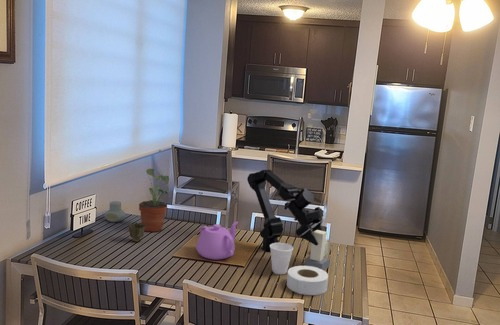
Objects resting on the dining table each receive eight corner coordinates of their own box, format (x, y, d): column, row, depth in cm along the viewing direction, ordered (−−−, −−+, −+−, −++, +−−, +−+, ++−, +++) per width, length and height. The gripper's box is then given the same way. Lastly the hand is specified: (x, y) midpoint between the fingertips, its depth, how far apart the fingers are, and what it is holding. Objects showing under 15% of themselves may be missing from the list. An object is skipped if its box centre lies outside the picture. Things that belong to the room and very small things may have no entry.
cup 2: (275, 278, 178) (277, 251, 176) (263, 268, 187) (265, 243, 185) (296, 274, 183) (298, 249, 181) (283, 265, 191) (285, 241, 189)
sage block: (321, 257, 205) (323, 244, 204) (312, 253, 208) (313, 241, 208) (327, 254, 209) (328, 242, 208) (318, 251, 212) (319, 239, 211)
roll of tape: (281, 290, 168) (282, 276, 167) (292, 275, 183) (293, 262, 182) (322, 299, 163) (324, 285, 162) (330, 283, 177) (331, 269, 177)
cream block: (309, 259, 191) (313, 231, 189) (313, 256, 195) (317, 229, 194) (319, 261, 189) (323, 234, 187) (323, 258, 193) (326, 231, 192)
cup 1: (125, 242, 206) (125, 225, 205) (134, 237, 213) (135, 221, 212) (138, 245, 204) (138, 228, 202) (147, 240, 211) (148, 224, 209)
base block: (304, 267, 192) (305, 259, 191) (312, 262, 198) (313, 254, 198) (321, 272, 187) (322, 263, 187) (329, 267, 194) (329, 258, 193)
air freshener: (101, 221, 234) (102, 203, 233) (109, 217, 242) (109, 199, 241) (121, 224, 233) (121, 205, 231) (128, 219, 241) (128, 201, 239)
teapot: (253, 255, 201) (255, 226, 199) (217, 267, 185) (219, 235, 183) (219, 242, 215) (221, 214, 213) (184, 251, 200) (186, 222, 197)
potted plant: (165, 235, 220) (168, 165, 215) (134, 232, 220) (137, 163, 215) (171, 225, 235) (174, 160, 230) (142, 223, 235) (145, 158, 230)
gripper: (305, 206, 182) (328, 237, 178) (320, 198, 198) (341, 226, 195) (285, 221, 186) (308, 252, 183) (301, 211, 203) (322, 240, 200)
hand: (321, 242), depth 190 cm, fingers open, 9 cm apart
